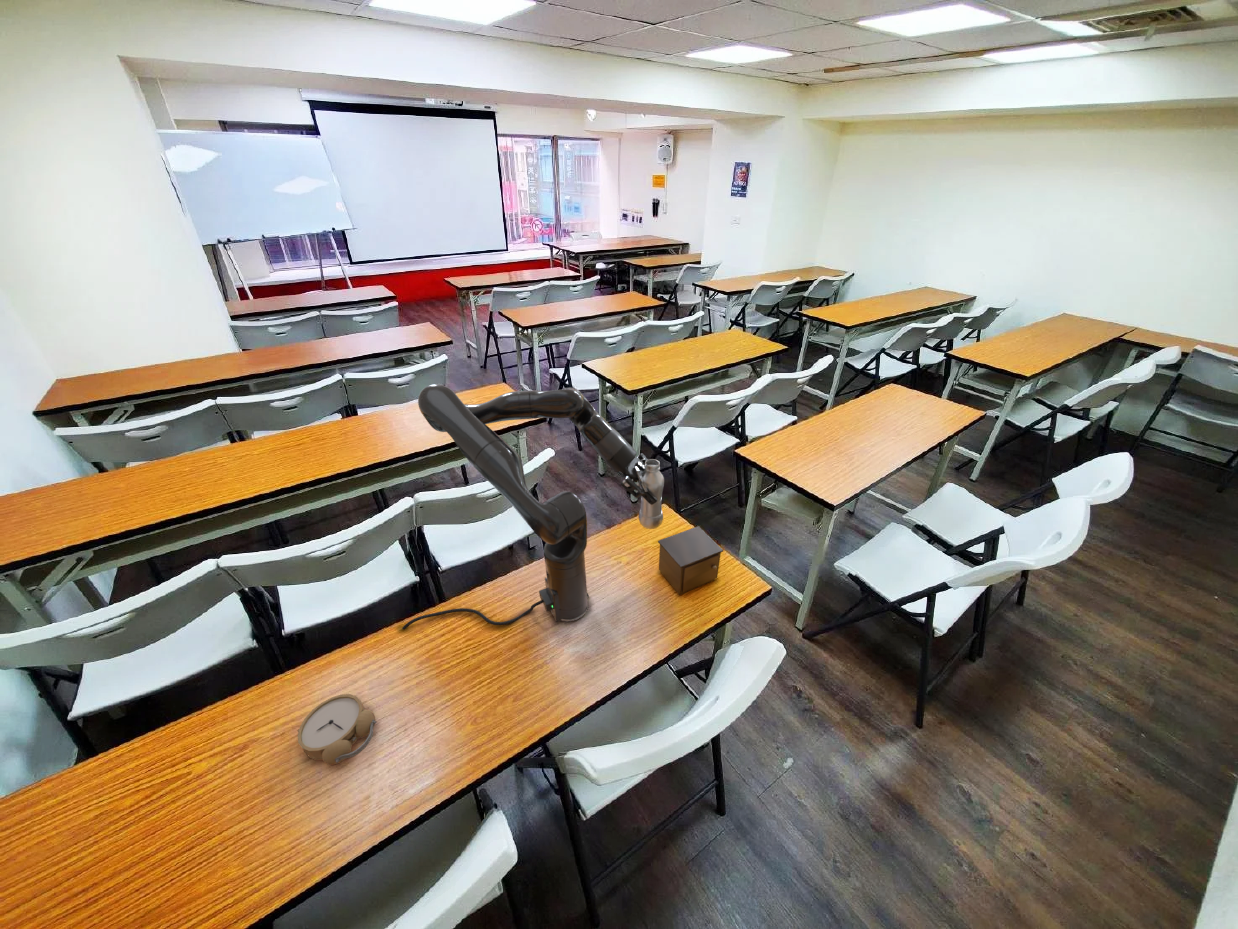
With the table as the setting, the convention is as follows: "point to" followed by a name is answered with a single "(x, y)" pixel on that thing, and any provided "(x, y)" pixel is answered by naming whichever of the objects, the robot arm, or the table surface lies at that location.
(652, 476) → the silver metal bottle
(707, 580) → the cabinet
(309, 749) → the alarm clock
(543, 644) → the table surface
